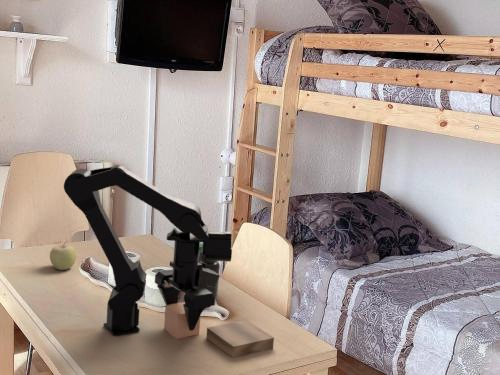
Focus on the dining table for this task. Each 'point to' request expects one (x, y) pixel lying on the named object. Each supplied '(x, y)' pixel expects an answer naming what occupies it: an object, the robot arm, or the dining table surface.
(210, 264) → the supplement bottle
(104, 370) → the dining table surface
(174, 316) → the terracotta cube
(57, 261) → the fruit
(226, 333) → the walnut base
